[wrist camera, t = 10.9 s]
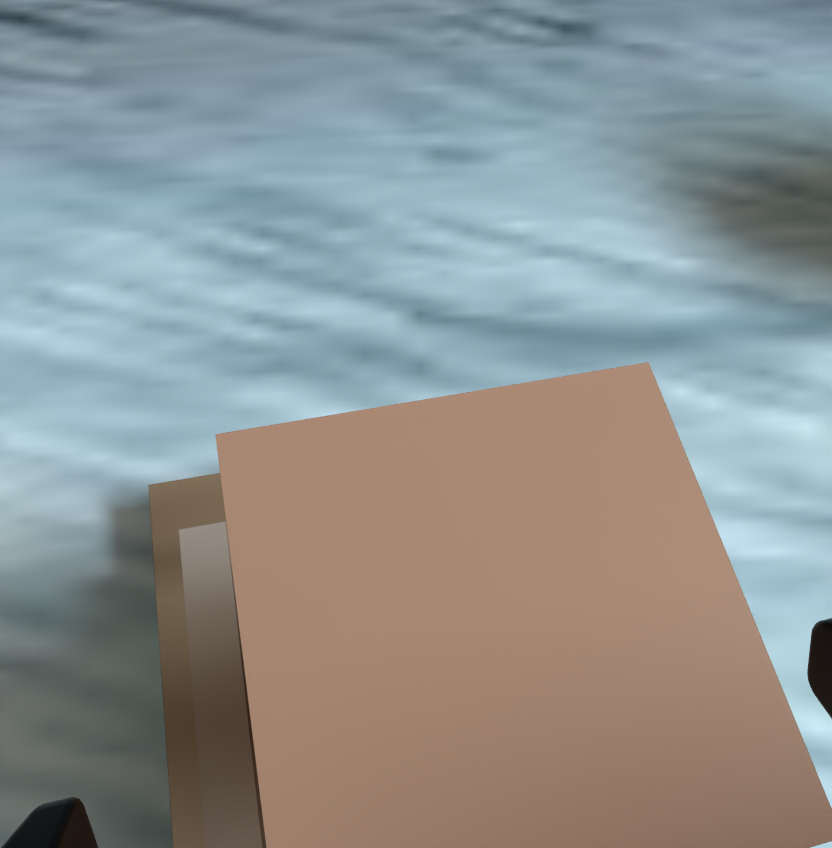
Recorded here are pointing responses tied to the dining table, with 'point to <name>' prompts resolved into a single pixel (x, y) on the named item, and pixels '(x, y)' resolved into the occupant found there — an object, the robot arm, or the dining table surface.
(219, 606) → the plate
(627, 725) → the terracotta peg
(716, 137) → the dining table surface
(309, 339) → the dining table surface
